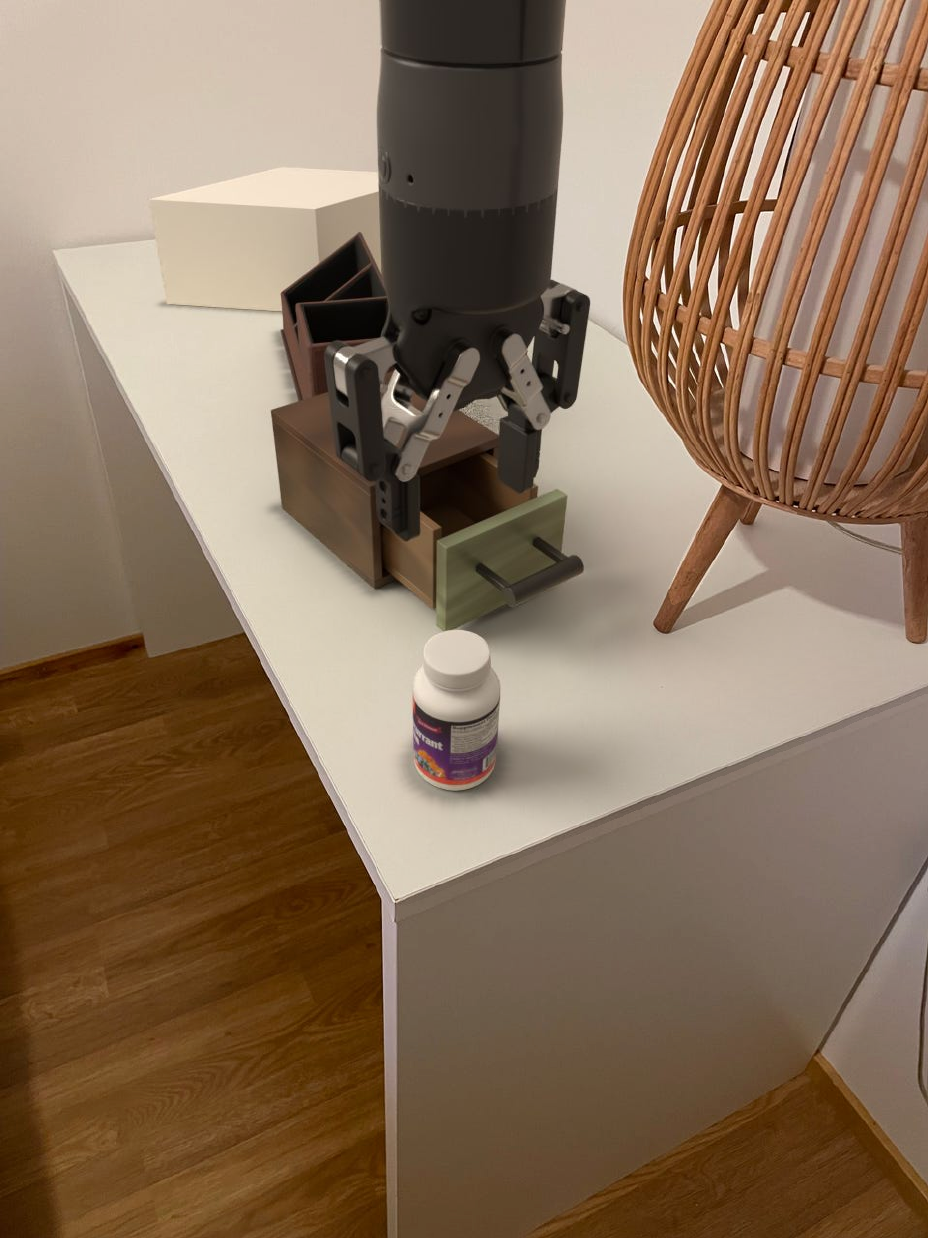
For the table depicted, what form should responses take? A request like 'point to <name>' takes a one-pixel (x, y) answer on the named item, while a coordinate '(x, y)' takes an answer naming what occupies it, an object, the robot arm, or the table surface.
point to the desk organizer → (332, 312)
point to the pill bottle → (455, 711)
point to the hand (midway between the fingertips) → (460, 507)
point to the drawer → (480, 543)
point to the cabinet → (352, 478)
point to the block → (259, 233)
